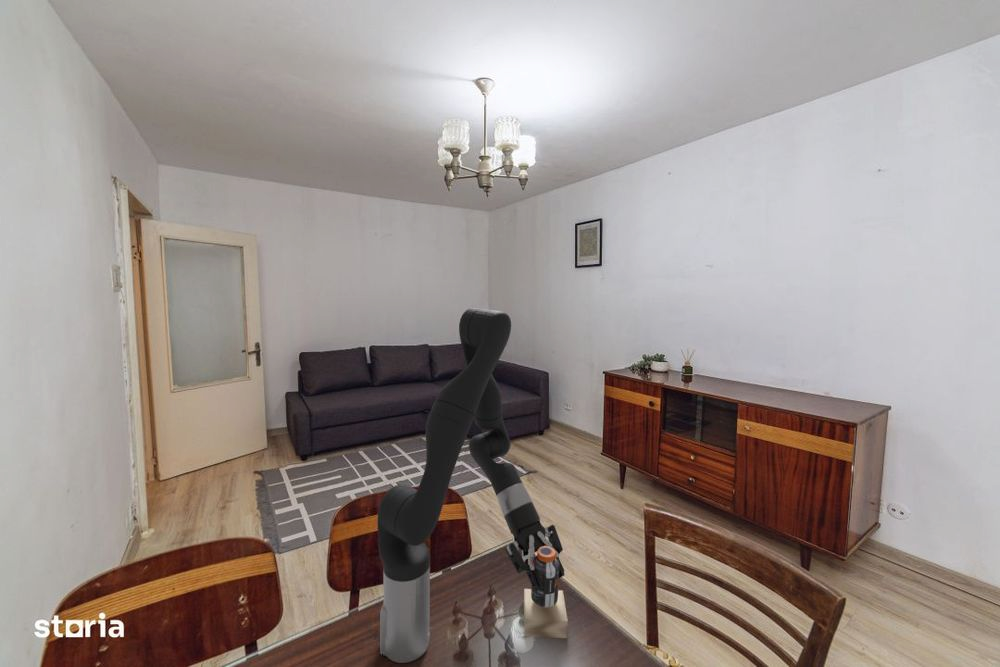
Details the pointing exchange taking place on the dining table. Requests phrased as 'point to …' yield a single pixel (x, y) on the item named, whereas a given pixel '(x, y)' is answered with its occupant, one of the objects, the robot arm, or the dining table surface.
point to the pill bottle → (546, 577)
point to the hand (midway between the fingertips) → (550, 582)
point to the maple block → (545, 618)
